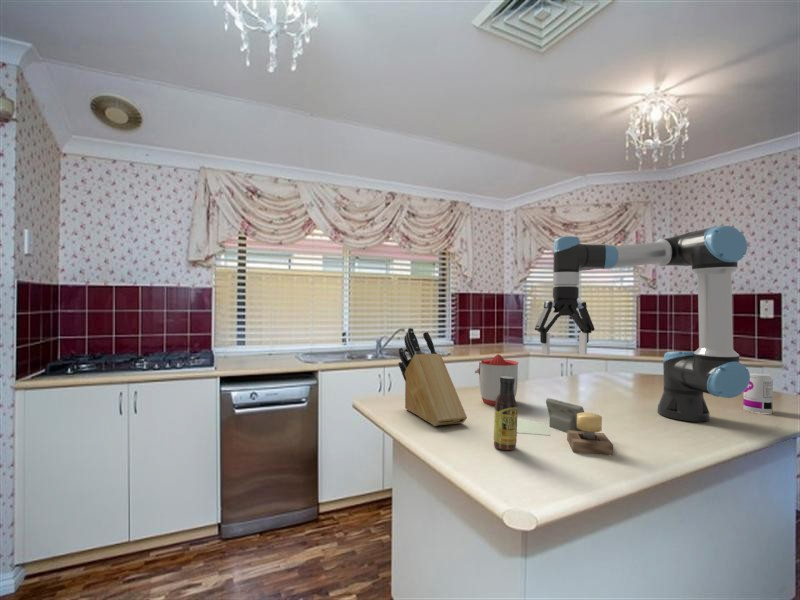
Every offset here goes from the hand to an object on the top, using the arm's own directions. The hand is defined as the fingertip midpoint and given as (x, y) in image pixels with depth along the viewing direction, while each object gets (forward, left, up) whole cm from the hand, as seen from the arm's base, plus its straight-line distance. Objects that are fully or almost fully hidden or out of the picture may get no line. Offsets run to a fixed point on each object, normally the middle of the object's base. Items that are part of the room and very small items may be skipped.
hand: (564, 353), depth 126 cm
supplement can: (-74, -42, -25) cm, 89 cm away
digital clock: (-1, -4, -25) cm, 26 cm away
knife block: (+45, -10, -25) cm, 52 cm away
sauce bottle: (+18, +18, -25) cm, 36 cm away
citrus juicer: (+21, -32, -25) cm, 46 cm away
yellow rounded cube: (-5, +12, -20) cm, 23 cm away
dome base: (-5, +12, -25) cm, 28 cm away
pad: (+11, -4, -25) cm, 28 cm away
